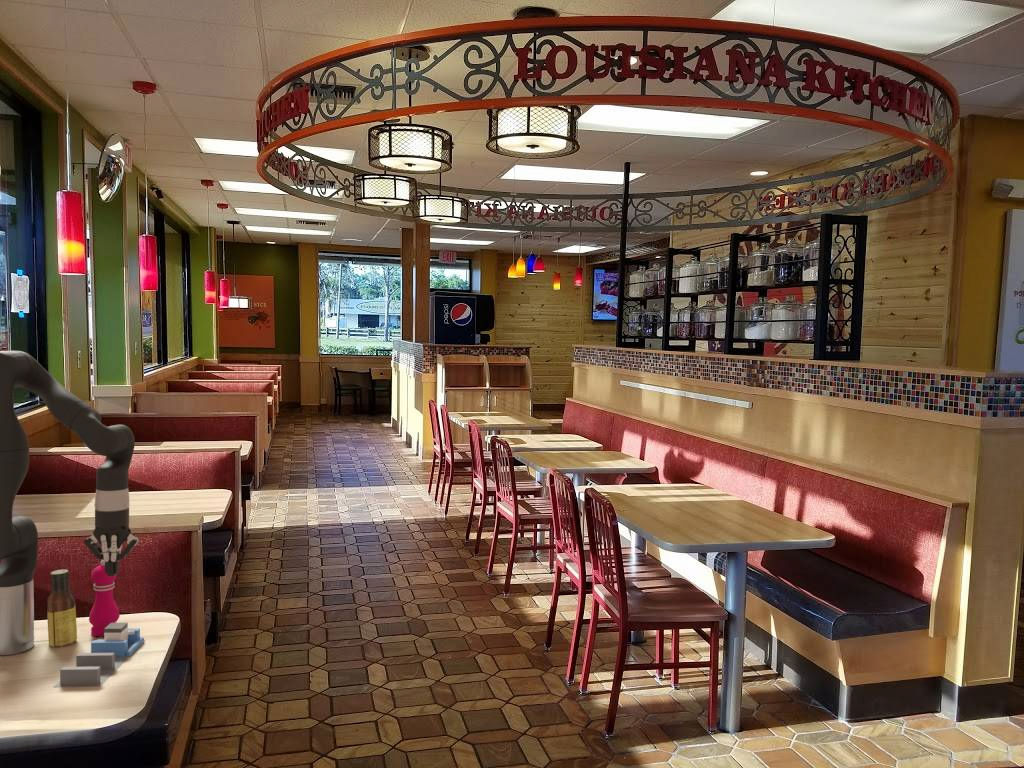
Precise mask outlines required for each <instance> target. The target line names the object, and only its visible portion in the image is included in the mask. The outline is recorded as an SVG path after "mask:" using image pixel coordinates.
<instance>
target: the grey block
mask: <svg viewBox="0 0 1024 768" xmlns="http://www.w3.org/2000/svg"><path fill="white" fill-rule="evenodd" d="M128 627H129V622H116V623H110V624H109V625H108V626H107V627H106V628H105V629H104V637H103V640H121V639H125V640H128Z"/></svg>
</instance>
